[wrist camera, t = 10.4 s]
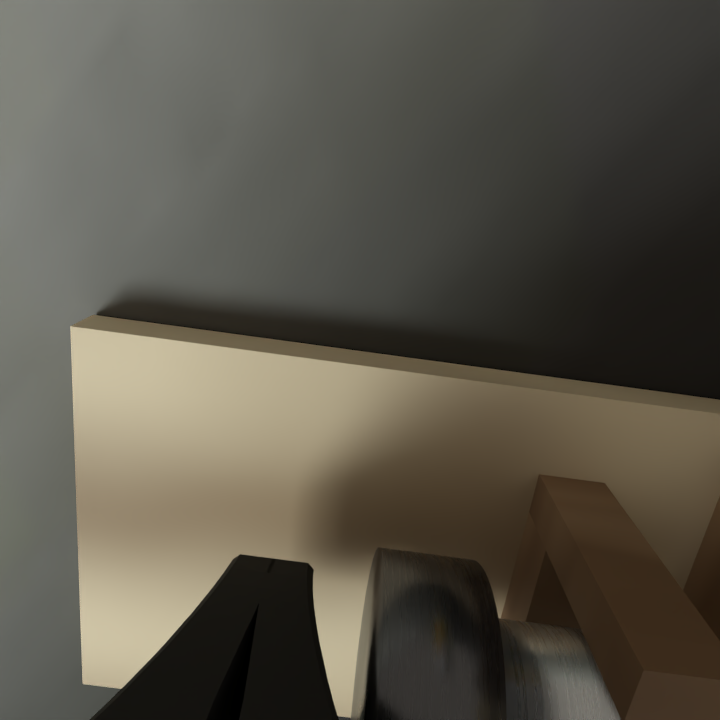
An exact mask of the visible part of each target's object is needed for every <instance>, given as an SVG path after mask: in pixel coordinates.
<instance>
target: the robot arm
mask: <svg viewBox="0 0 720 720" xmlns="http://www.w3.org/2000/svg"><path fill="white" fill-rule="evenodd" d="M313 573H314V569H313V568H312V567H311V566H310V564H309V563H305V562H297V561H289V560H281V559H274V558H266V557H258V556H250V555H242V554H240V555H238V556H237V557H235V558H234V559H233V560H232V561H231V563H230V564H229V566H228V567H227V569H226V570H225V571H224V573H223V574H222V575H221V577H220V578H219V580H218V581H217V582H216V584H215V585H214V586H213V587H212V589H211V590H210V591H209V593H208V594H207V595H206V596H205V597H204V599H203V600H202V601H201V602H200V604H199V605H198V606H197V607H196V609H195V610H194V611H193V612H192V613H191V614H190V616H189V617H188V618H187V619H186V620H185V621H184V622H183V624H182V625H181V626H180V627H179V628H178V629H177V630H176V632H175V633H174V634H173V635H172V636H171V637H170V638H169V640H168V641H167V642H166V643H165V644H164V645H163V646H162V647H161V648H160V650H159V651H158V652H157V653H156V654H155V655H154V656H153V657H152V658H151V659H150V660H149V661H148V662H147V663H146V664H145V665H144V666H143V667H142V668H141V669H140V670H139V671H138V672H137V673H136V674H135V676H134V677H133V678H132V679H131V680H130V681H129V682H128V683H127V684H126V685H125V686H124V687H123V688H122V689H121V690H120V691H119V692H118V693H117V694H116V695H115V696H114V697H113V698H112V699H111V700H110V701H109V702H108V703H107V704H106V705H105V706H104V707H103V708H101V709H100V710H99V711H98V712H97V713H96V714H95V715H94V716H93V717H92V718H91V719H90V720H339V719H338V716H337V712H336V709H335V705H334V702H333V698H332V694H331V690H330V687H329V683H328V679H327V674H326V670H325V665H324V660H323V656H322V651H321V647H320V642H319V636H318V631H317V624H316V617H315V609H314V599H313Z"/></svg>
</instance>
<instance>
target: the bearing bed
mask: <svg viewBox="0 0 720 720" xmlns="http://www.w3.org/2000/svg"><path fill="white" fill-rule="evenodd" d="M71 355H72V385H73V414H74V443H75V473H76V502H77V531H78V561H79V590H80V620H81V649H82V678H83V684H87V685H95V686H103V687H111V688H119V689H122V688H123V687H124V686H125V685H126V684H127V683H128V682H129V681H130V680H131V679H132V678H133V677H134V676H135V674H136V673H137V672H138V671H139V670H140V669H141V668H142V667H143V666H144V665H145V664H146V663H147V662H148V661H149V660H150V659H151V658H152V657H153V656H154V655H155V654H156V653H157V652H158V651H159V650H160V648H161V647H162V646H163V645H164V644H165V643H166V642H167V641H168V640H169V638H170V637H171V636H172V635H173V634H174V633H175V632H176V630H177V629H178V628H179V627H180V626H181V625H182V624H183V622H184V621H185V620H186V619H187V618H188V617H189V616H190V614H191V613H192V612H193V611H194V610H195V609H196V607H197V606H198V605H199V604H200V602H201V601H202V600H203V599H204V597H205V596H206V595H207V594H208V593H209V591H210V590H211V589H212V587H213V586H214V585H215V584H216V582H217V581H218V580H219V578H220V577H221V575H222V574H223V573H224V571H225V570H226V569H227V567H228V566H229V564H230V563H231V561H232V560H233V559H234V558H235V557H237V556H238V555H240V554H242V555H250V556H258V557H266V558H274V559H281V560H289V561H297V562H305V563H309V564H310V566H311V567H312V568H313V569H314V573H313V599H314V609H315V617H316V624H317V631H318V636H319V642H320V647H321V651H322V656H323V660H324V665H325V670H326V674H327V679H328V683H329V687H330V690H331V694H332V698H333V702H334V705H335V709H336V712H337V716H342V717H350V718H351V712H352V701H353V690H354V680H355V671H356V662H357V653H358V645H359V637H360V629H361V622H362V615H363V608H364V602H365V595H366V589H367V584H368V579H369V573H370V569H371V564H372V561H373V557H374V554H375V551H376V549H377V548H378V547H379V548H387V549H395V550H402V551H410V552H418V553H425V554H433V555H441V556H448V557H456V558H464V559H471V560H475V561H477V562H478V563H479V564H480V565H481V566H482V568H483V569H484V571H485V573H486V575H487V577H488V579H489V582H490V585H491V588H492V591H493V595H494V599H495V603H496V608H497V613H498V618H500V619H508V620H516V621H523V622H531V623H539V624H547V625H554V626H562V627H570V628H578V629H581V630H582V632H583V635H584V637H585V639H586V641H587V644H588V646H589V648H590V650H591V653H592V655H593V657H594V659H595V662H596V664H597V666H598V668H599V671H600V673H601V675H602V677H603V680H604V682H605V684H606V686H607V689H608V691H609V693H610V695H611V698H612V700H613V702H614V704H615V707H616V709H617V711H618V713H619V716H620V718H621V720H720V400H719V399H711V398H704V397H696V396H689V395H682V394H674V393H667V392H660V391H652V390H645V389H637V388H630V387H623V386H615V385H608V384H600V383H593V382H586V381H578V380H571V379H564V378H556V377H549V376H541V375H534V374H527V373H519V372H512V371H504V370H497V369H490V368H482V367H475V366H468V365H460V364H453V363H445V362H438V361H431V360H423V359H416V358H408V357H401V356H394V355H386V354H379V353H371V352H364V351H357V350H349V349H342V348H335V347H327V346H320V345H312V344H305V343H298V342H290V341H283V340H275V339H268V338H261V337H253V336H246V335H239V334H231V333H224V332H216V331H209V330H202V329H194V328H187V327H179V326H172V325H165V324H157V323H150V322H143V321H135V320H128V319H120V318H113V317H106V316H98V315H92V316H90V317H88V318H86V319H84V320H82V321H80V322H78V323H76V324H74V325H72V326H71Z"/></svg>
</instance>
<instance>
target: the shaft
mask: <svg viewBox="0 0 720 720" xmlns="http://www.w3.org/2000/svg"><path fill="white" fill-rule="evenodd" d="M351 720H621V718H620V716H619V713H618V711H617V709H616V707H615V704H614V702H613V700H612V698H611V695H610V693H609V691H608V689H607V686H606V684H605V682H604V680H603V677H602V675H601V673H600V671H599V668H598V666H597V664H596V662H595V659H594V657H593V655H592V653H591V650H590V648H589V646H588V644H587V641H586V639H585V637H584V635H583V632H582V630H581V629H578V628H570V627H562V626H554V625H547V624H539V623H531V622H523V621H516V620H508V619H500V618H498V613H497V608H496V603H495V599H494V595H493V591H492V588H491V585H490V582H489V579H488V577H487V575H486V573H485V571H484V569H483V568H482V566H481V565H480V564H479V563H478V562H477V561H475V560H471V559H464V558H456V557H448V556H441V555H433V554H425V553H418V552H410V551H402V550H395V549H387V548H379V547H378V548H377V549H376V551H375V554H374V557H373V561H372V564H371V569H370V573H369V579H368V584H367V589H366V595H365V602H364V608H363V615H362V622H361V629H360V637H359V645H358V653H357V662H356V671H355V680H354V690H353V701H352V712H351Z"/></svg>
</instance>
